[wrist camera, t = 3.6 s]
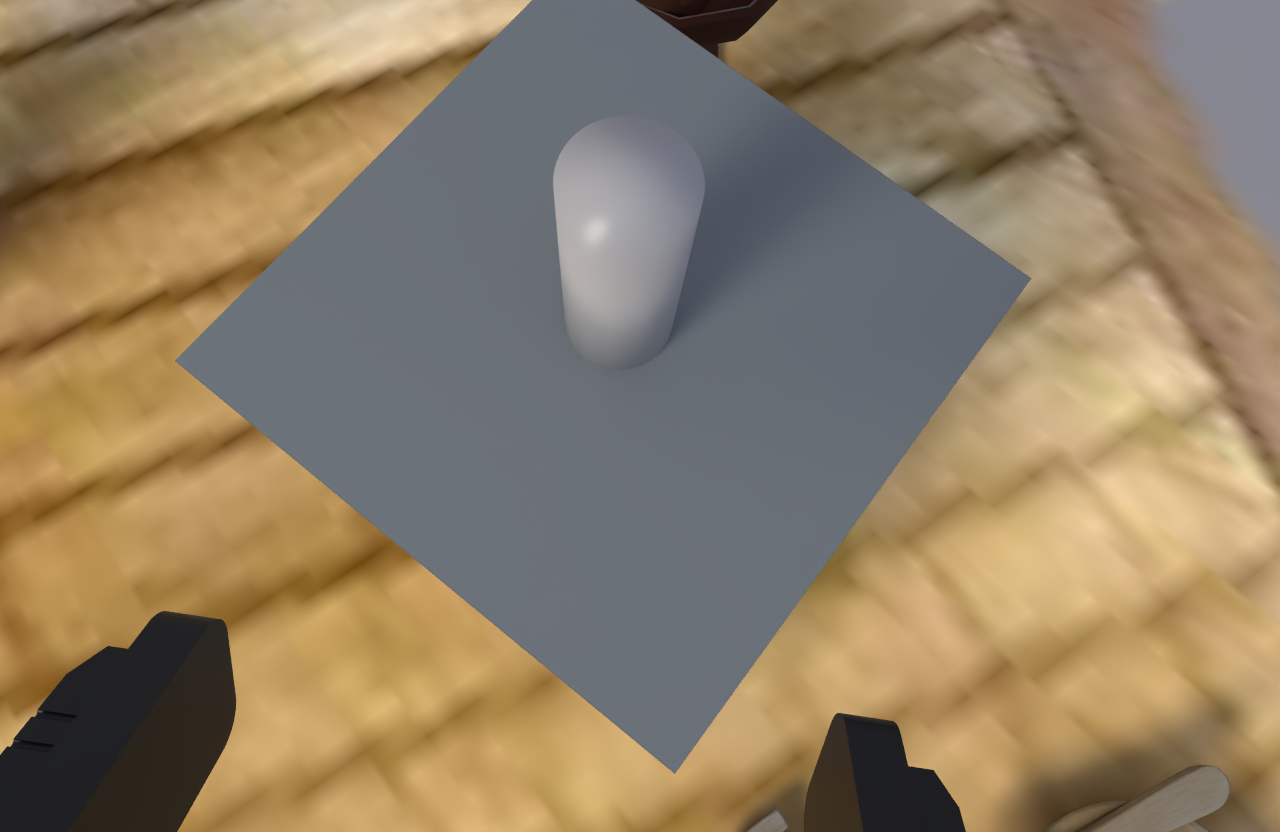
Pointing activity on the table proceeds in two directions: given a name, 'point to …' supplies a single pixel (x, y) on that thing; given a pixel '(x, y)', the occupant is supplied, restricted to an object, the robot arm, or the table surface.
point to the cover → (612, 353)
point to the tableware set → (1125, 807)
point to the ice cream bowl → (710, 18)
